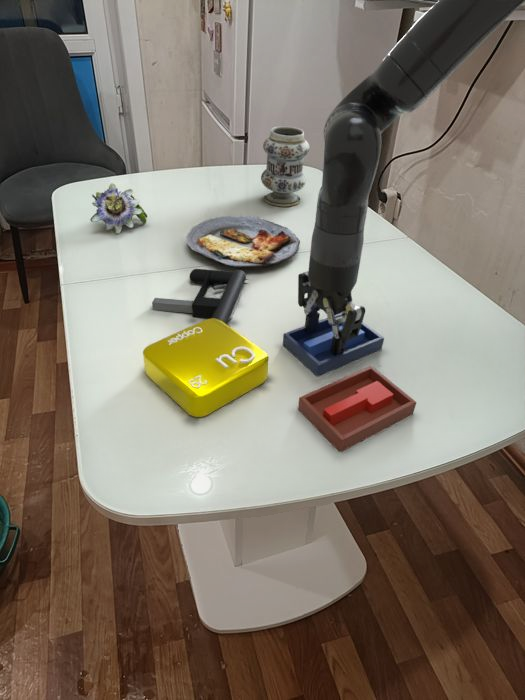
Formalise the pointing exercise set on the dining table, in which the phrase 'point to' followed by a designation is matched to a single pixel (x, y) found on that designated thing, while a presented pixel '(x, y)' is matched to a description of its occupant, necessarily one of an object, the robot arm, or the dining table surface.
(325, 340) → the blue stepped block
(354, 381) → the rust tray
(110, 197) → the passion flower
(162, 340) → the element tile
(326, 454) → the dining table surface
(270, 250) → the food plate
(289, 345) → the navy tray
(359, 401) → the red stepped block
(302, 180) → the apothecary jar
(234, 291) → the door handle
